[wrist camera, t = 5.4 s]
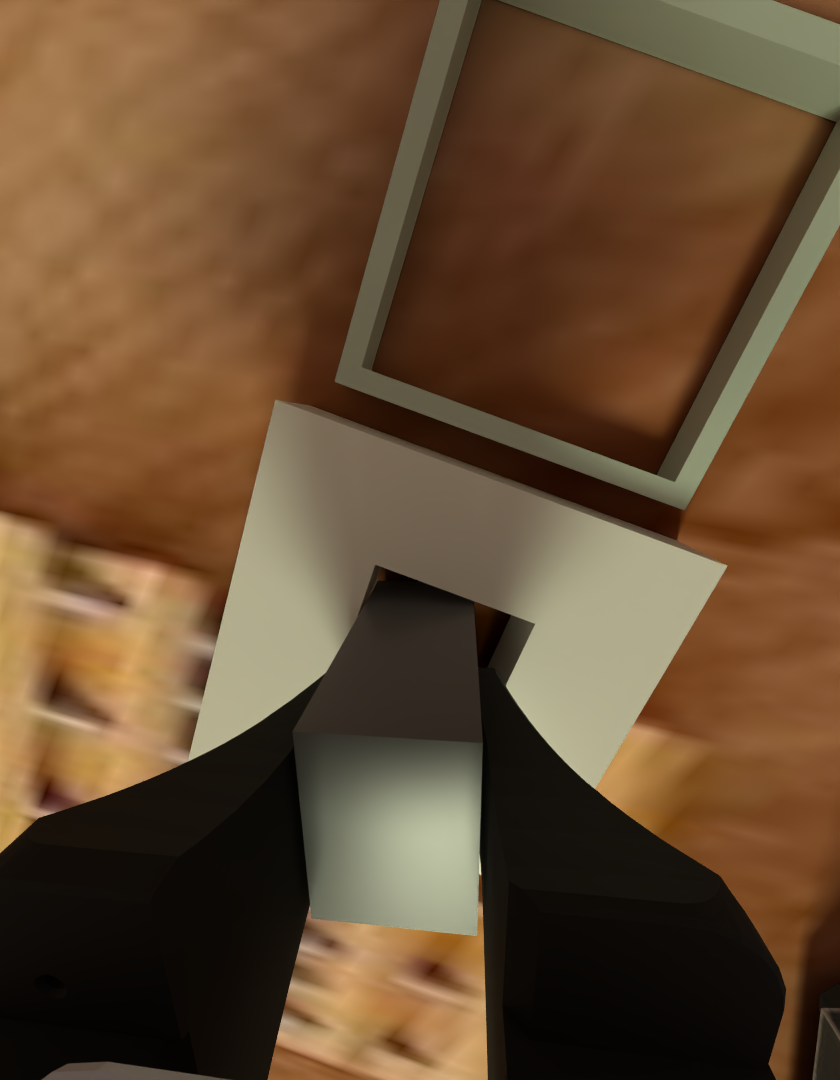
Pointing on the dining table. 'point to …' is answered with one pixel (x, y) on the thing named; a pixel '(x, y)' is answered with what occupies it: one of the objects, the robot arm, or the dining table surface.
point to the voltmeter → (828, 1036)
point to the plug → (396, 767)
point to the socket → (446, 582)
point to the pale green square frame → (823, 205)
